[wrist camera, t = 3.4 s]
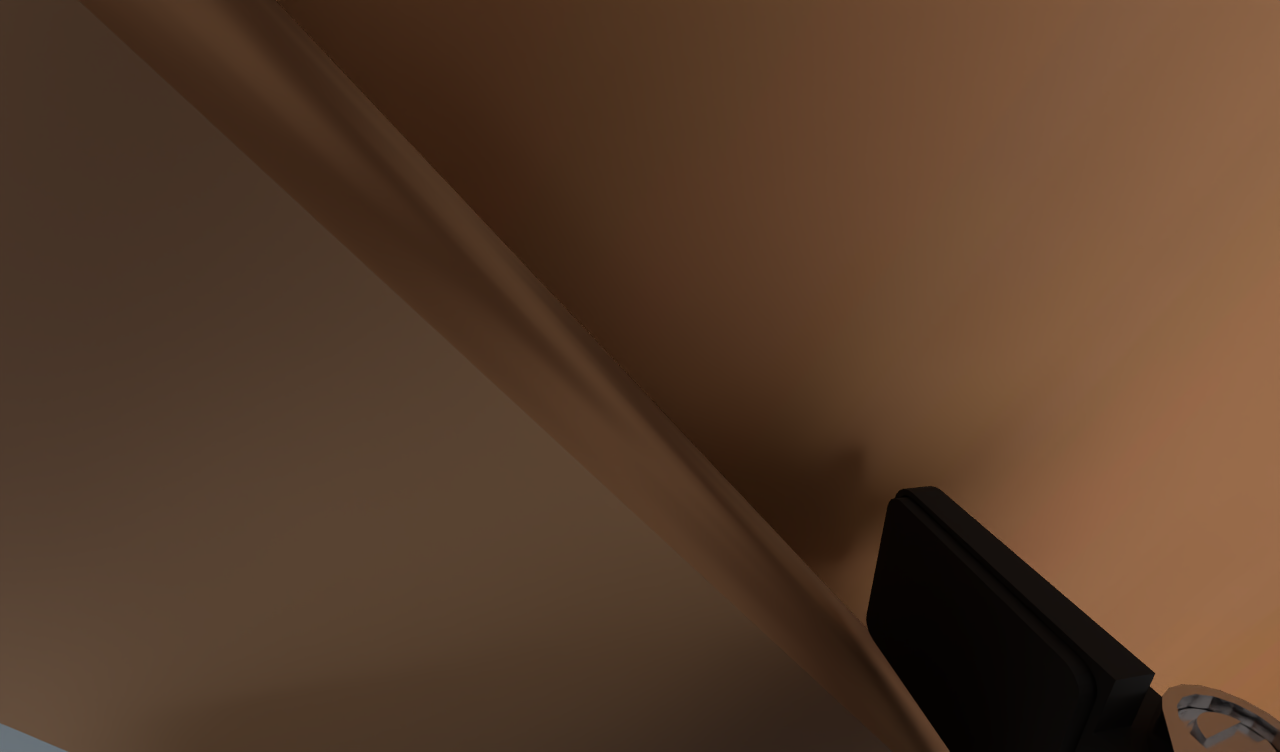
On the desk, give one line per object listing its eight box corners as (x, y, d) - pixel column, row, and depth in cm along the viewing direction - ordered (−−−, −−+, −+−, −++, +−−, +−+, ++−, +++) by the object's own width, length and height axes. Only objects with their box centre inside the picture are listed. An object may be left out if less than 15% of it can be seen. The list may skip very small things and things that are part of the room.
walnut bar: (-99, 121, 7) (-1525, 84, 2) (143, -146, 7) (-988, -982, 2) (808, 804, 16) (941, 1116, 11) (944, 708, 16) (1149, 988, 10)
